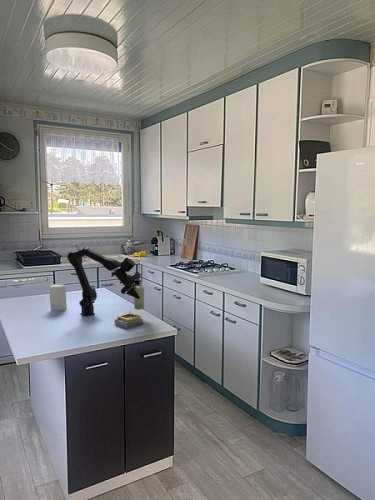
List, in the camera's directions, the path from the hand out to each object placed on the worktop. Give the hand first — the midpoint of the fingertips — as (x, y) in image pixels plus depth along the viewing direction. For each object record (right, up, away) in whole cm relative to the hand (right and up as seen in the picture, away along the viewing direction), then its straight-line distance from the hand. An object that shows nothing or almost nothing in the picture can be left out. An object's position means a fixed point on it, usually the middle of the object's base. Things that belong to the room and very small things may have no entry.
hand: (141, 297), depth 222 cm
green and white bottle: (-1, -7, +1) cm, 7 cm away
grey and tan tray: (-6, -14, -9) cm, 18 cm away
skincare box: (-55, -11, +22) cm, 60 cm away
